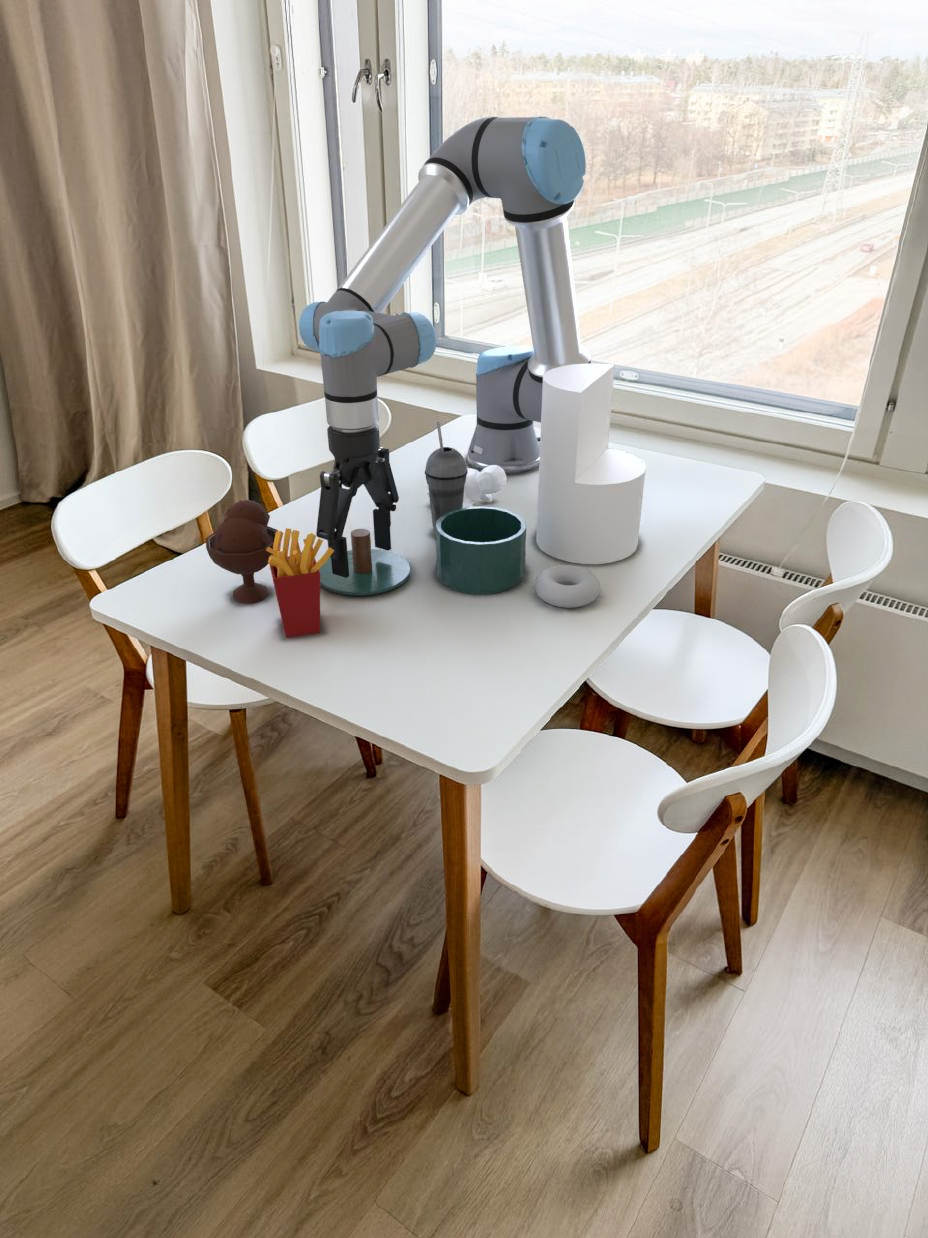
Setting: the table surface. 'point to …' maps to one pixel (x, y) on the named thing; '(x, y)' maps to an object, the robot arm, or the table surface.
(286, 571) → the french fries
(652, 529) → the table surface
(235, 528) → the ice cream bowl
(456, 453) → the beverage cup
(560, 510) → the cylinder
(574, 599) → the donut
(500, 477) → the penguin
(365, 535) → the tin lid
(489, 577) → the tin
